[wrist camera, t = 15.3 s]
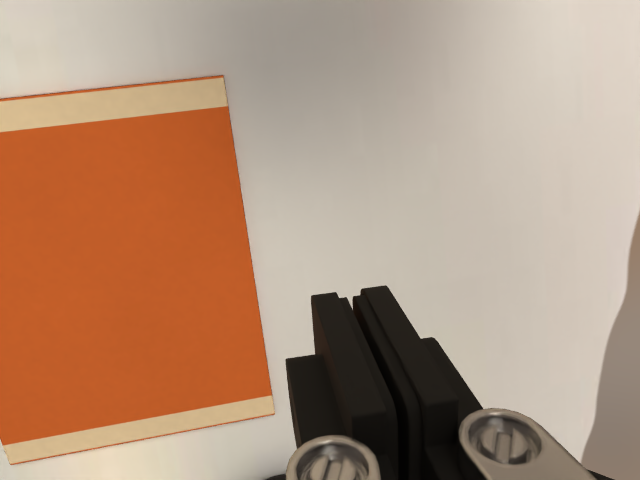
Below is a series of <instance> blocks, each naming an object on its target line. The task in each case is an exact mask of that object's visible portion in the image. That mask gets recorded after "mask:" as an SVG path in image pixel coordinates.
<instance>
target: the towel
mask: <svg viewBox="0 0 640 480" xmlns="http://www.w3.org/2000/svg"><path fill="white" fill-rule="evenodd" d="M274 414H275V412H274V405H273V398H272V392H271V385H270V379H269V372H268V366H267V359H266V352H265V346H264V339H263V333H262V326H261V320H260V313H259V306H258V300H257V293H256V287H255V280H254V274H253V267H252V261H251V254H250V247H249V241H248V234H247V228H246V221H245V215H244V208H243V201H242V195H241V188H240V182H239V175H238V169H237V162H236V155H235V149H234V142H233V136H232V129H231V123H230V116H229V109H228V103H227V96H226V90H225V83H224V77H223V75H221V76H212V77H202V78H193V79H183V80H174V81H165V82H155V83H146V84H137V85H127V86H118V87H109V88H99V89H90V90H80V91H71V92H62V93H52V94H43V95H34V96H24V97H15V98H6V99H0V439H1V442H2V445H3V447H4V450H5V453H6V455H7V458H8V460H9V463H10V465H14V464H19V463H24V462H29V461H35V460H40V459H45V458H50V457H55V456H61V455H66V454H71V453H76V452H81V451H87V450H92V449H97V448H102V447H108V446H113V445H118V444H123V443H128V442H134V441H139V440H144V439H149V438H155V437H160V436H165V435H170V434H175V433H181V432H186V431H191V430H196V429H201V428H207V427H212V426H217V425H222V424H228V423H233V422H238V421H243V420H248V419H254V418H259V417H264V416H269V415H274Z"/></svg>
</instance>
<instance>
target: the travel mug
mask: <svg viewBox="0 0 640 480" xmlns="http://www.w3.org/2000/svg"><path fill="white" fill-rule="evenodd" d="M267 480H286V475H279V476H275V477H271V478H269V479H267Z"/></svg>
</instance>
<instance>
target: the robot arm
mask: <svg viewBox="0 0 640 480" xmlns="http://www.w3.org/2000/svg"><path fill="white" fill-rule="evenodd" d="M311 306H312V319H313V332H314V344H315V355H308V356H302V357H295V358H288V359H286V371H287V380H288V390H289V399H290V407H291V414H292V421H293V428H294V434H295V440H296V446H297V450H296V451H295V452H294V454H293V455H292V457H291V458H290V459H289V462H288V466H287V470H286V480H614V479H611V478H608V477H606V476H603V475H600V474H598V473H595V472H593V471H590V470H587V469H586V468H585V467H583V466H582V465H581V464H580V463H579V462H578V461H577V460H576V459H575V458H574V457H573V456H572V455H571V454H570V453H569V452H568V451H567V450H566V449H565V448H564V447H563V446H562V445H561V444H560V443H558V442H557V441H556V440H555V439H554V438H553V437H552V436H551V435H550V434H549V433H548V432H547V431H546V430H545V429H544V428H543V427H542V426H541V425H539V424H538V423H537V422H535V421H534V420H533V419H531V418H529V417H527V416H525V415H523V414H521V413H519V412H515V411H511V410H507V409H499V408H488V409H483V408H482V406H481V405H480V403H479V402H478V400H477V399H476V397H475V396H474V394H473V393H472V392H471V390H470V389H469V387H468V386H467V384H466V383H465V381H464V380H463V378H462V377H461V375H460V374H459V372H458V371H457V370H456V368H455V367H454V365H453V364H452V362H451V361H450V359H449V358H448V356H447V355H446V353H445V352H444V350H443V349H442V348H441V346H440V345H439V343H438V342H437V341H436V340H435V338H432V337H430V338H423V339H420V337H419V336H418V334H417V332H416V331H415V329H414V328H413V326H412V324H411V323H410V321H409V320H408V318H407V317H406V315H405V313H404V312H403V310H402V309H401V307H400V306H399V304H398V302H397V301H396V299H395V298H394V296H393V294H392V293H391V291H390V290H389V288H388V287H387V286H379V287H371V288H364V289H361V294H360V296H353V310H352V308H351V306H350V303H349V301H348V299H347V297H345V298H339V297H338V295H337V293H336V292H334V293H326V294H319V295H312V296H311Z"/></svg>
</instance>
